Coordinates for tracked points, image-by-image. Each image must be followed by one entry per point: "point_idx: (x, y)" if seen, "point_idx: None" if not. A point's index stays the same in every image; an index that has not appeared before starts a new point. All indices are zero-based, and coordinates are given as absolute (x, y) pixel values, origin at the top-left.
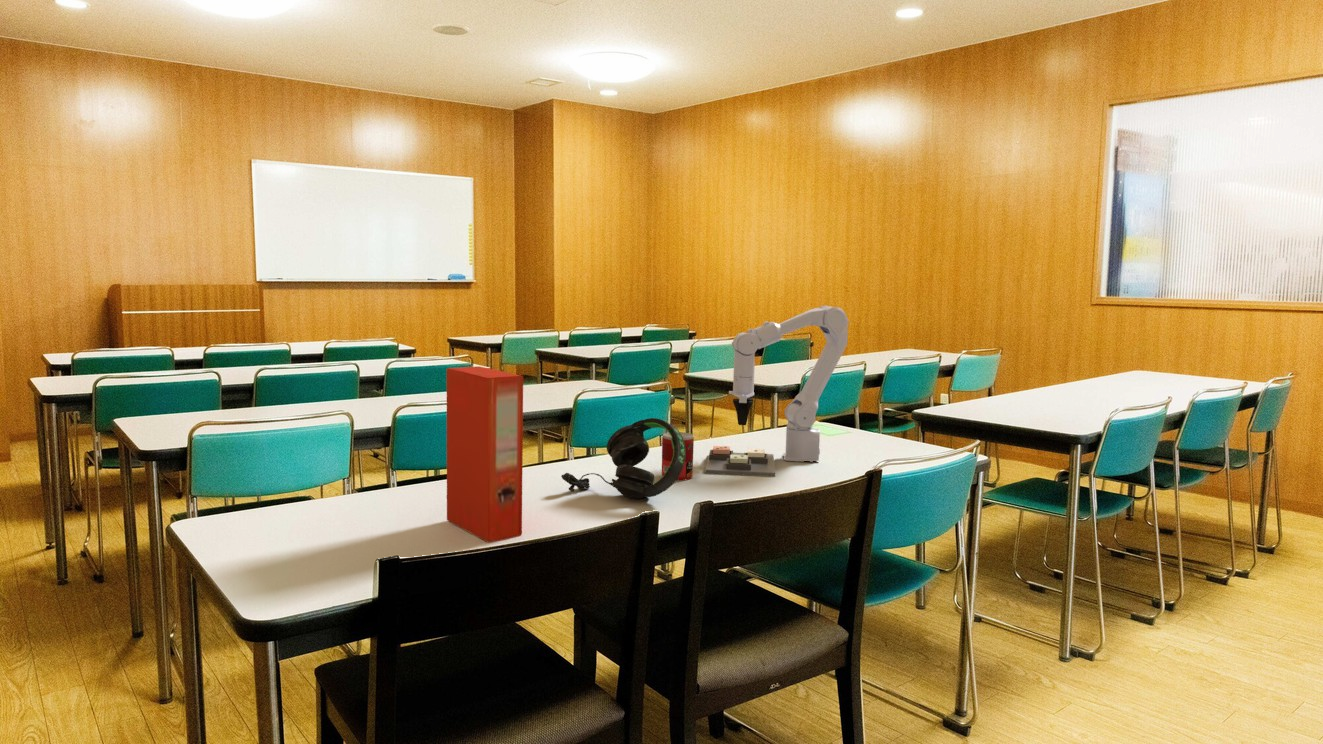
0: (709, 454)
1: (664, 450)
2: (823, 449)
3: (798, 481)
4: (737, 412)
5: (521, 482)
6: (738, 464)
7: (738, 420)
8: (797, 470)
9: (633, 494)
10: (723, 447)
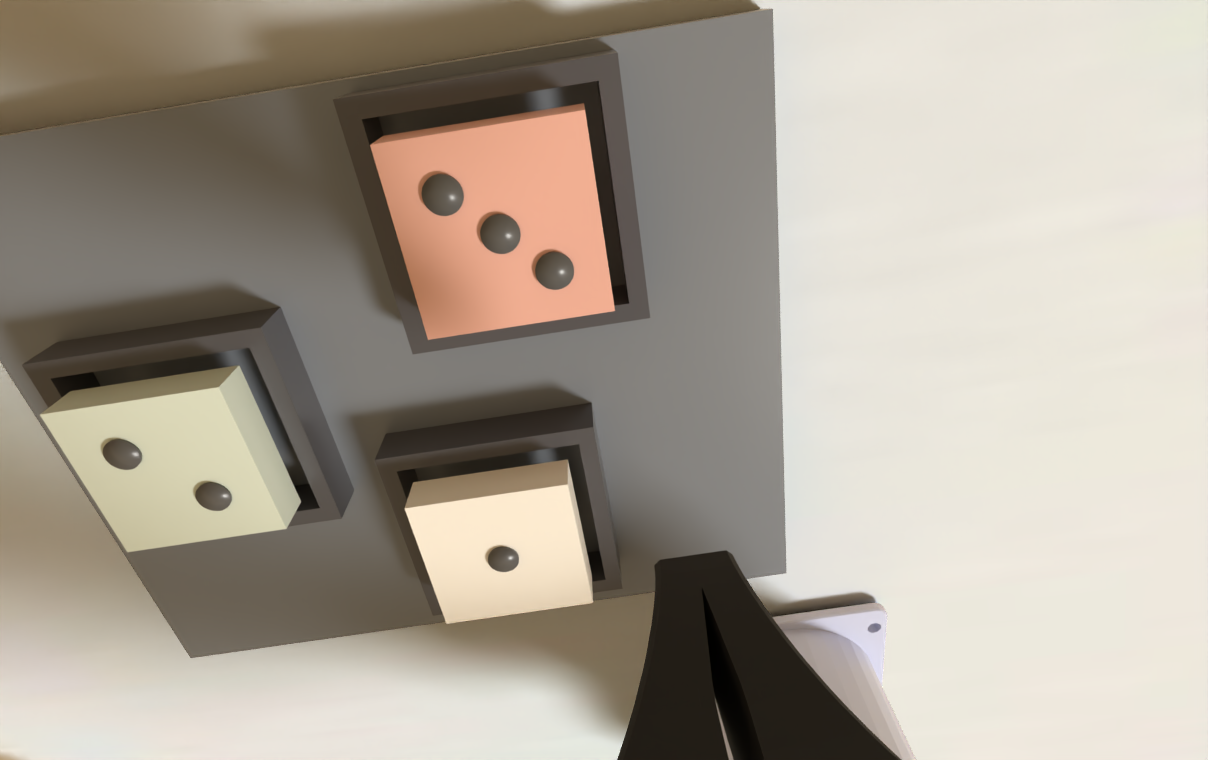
0: (339, 102)
1: None
2: (1086, 750)
3: (175, 741)
4: (629, 743)
5: None
6: None
7: (654, 614)
8: (452, 708)
9: None
10: (536, 251)
